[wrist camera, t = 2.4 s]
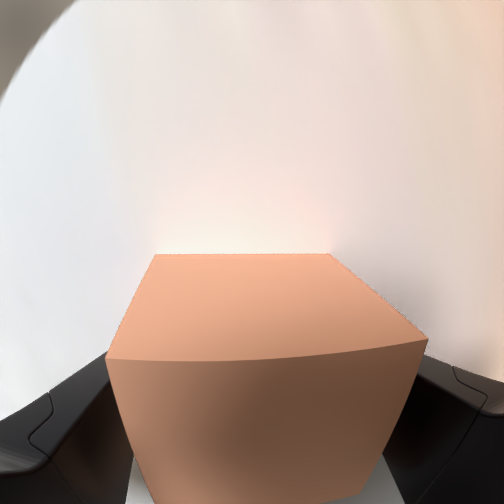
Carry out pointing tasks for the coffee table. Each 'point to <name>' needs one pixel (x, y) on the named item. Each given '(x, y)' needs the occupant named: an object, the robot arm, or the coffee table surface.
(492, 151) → the coffee table surface
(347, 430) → the terracotta block
